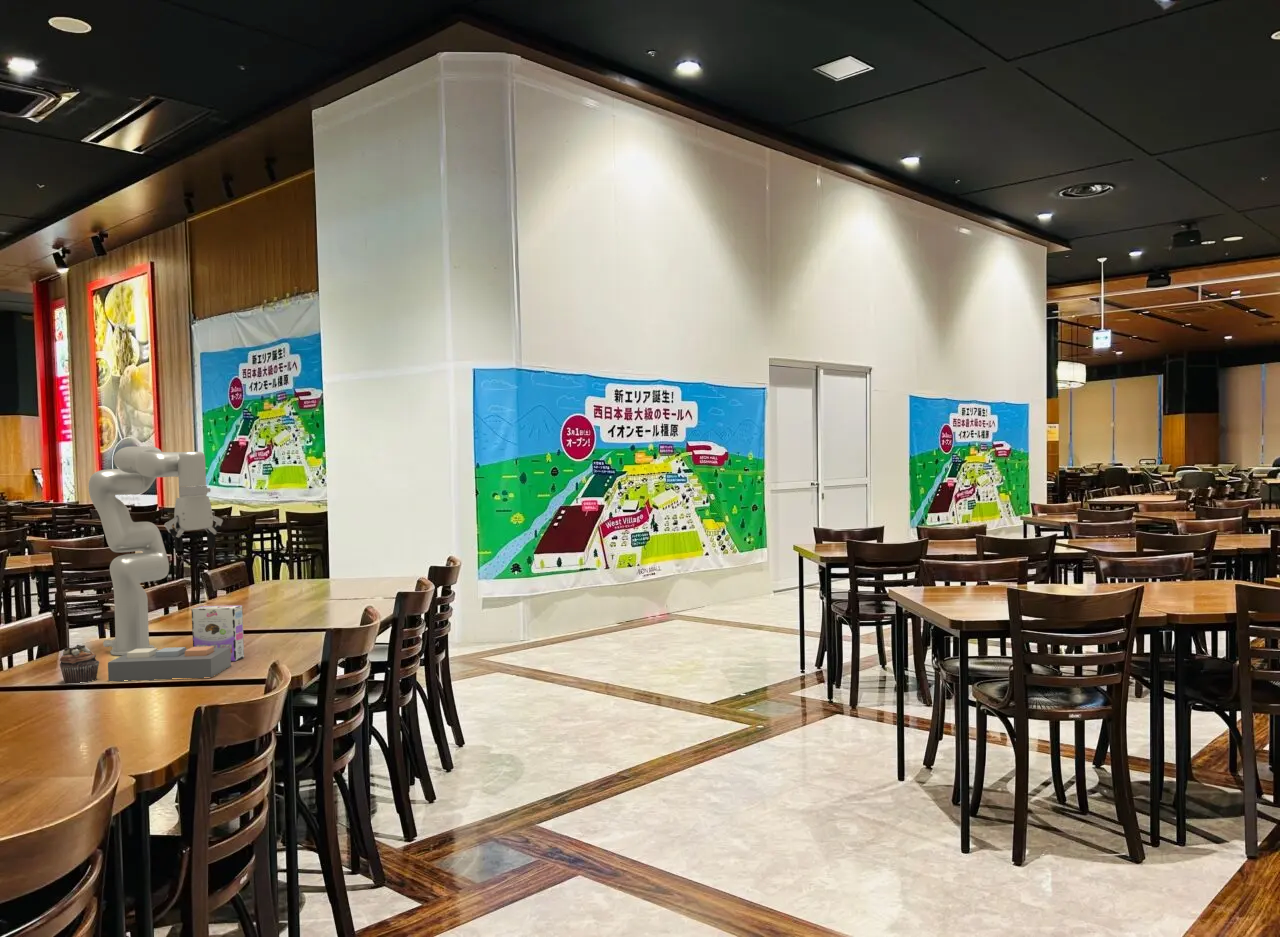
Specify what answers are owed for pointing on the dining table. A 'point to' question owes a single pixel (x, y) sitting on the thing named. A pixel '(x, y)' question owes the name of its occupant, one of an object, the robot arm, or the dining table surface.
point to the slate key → (171, 652)
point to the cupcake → (78, 665)
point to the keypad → (169, 666)
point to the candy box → (219, 628)
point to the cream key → (142, 653)
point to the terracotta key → (199, 651)
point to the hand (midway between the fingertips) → (195, 549)
